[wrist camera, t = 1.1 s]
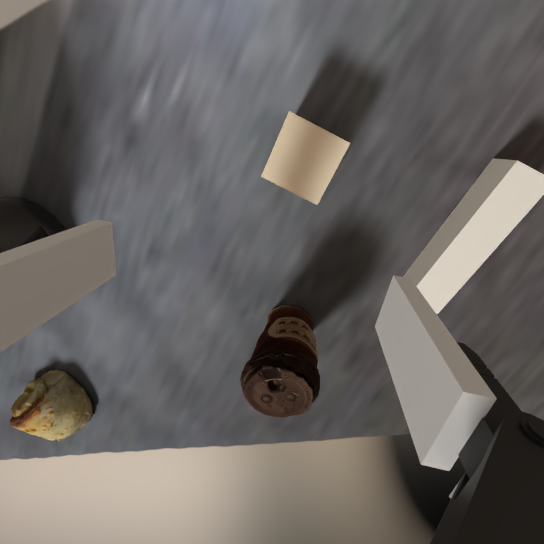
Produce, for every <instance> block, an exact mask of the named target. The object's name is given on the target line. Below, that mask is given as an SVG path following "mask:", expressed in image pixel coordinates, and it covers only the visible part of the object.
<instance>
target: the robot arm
mask: <svg viewBox="0 0 544 544" xmlns="http://www.w3.org/2000/svg"><path fill="white" fill-rule="evenodd" d="M114 276H116V264H115V253H114V241H113V230H112V222H107V221H101V220H94V221H91V222H88V223H85V224H82V225H80V226H77V227H74V228H71V229H68V230H65V229H64V228H63V226H62V225H61V224H60V223H59V222H58V221H57V220H56V219H55V218H54V217H53V216H52V215H51V214H50V213H48V212H47V211H46V210H44V209H43V208H41V207H40V206H38V205H36V204H34V203H32V202H30V201H27V200H24V199H21V198H16V197H3V198H0V352H1V351H3V350H4V349H6V348H7V347H9V346H10V345H12V344H13V343H15V342H16V341H18V340H19V339H21V338H22V337H24V336H25V335H27V334H28V333H30V332H31V331H33V330H34V329H36V328H37V327H39V326H40V325H42V324H43V323H45V322H46V321H48V320H49V319H51V318H52V317H54V316H55V315H57V314H58V313H60V312H61V311H63V310H65V309H66V308H68V307H69V306H71V305H72V304H74V303H75V302H77V301H78V300H80V299H81V298H83V297H84V296H86V295H87V294H89V293H90V292H92V291H93V290H95V289H96V288H98V287H99V286H101V285H102V284H104V283H105V282H107V281H108V280H110V279H111V278H113V277H114ZM375 328H376V331H377V334H378V337H379V340H380V343H381V346H382V349H383V352H384V355H385V358H386V361H387V364H388V367H389V370H390V373H391V376H392V379H393V382H394V385H395V388H396V391H397V394H398V397H399V400H400V403H401V406H402V409H403V412H404V415H405V418H406V421H407V424H408V427H409V430H410V433H411V436H412V439H413V442H414V445H415V448H416V451H417V454H418V457H419V460H420V463H421V465H425V466H430V467H434V468H438V469H443V470H447V471H450V469H451V467H452V466H453V465H454V463H455V461H456V460H457V458H458V457H459V458H460V460H461V462H462V464H463V466H464V468H465V471H466V472H465V474H464V475H463V477H462V478H461V480H460V481H459V482H458V484H457V485H456V487H455V488H454V489H453V491H452V492H451V494H450V495H449V497H450V498H451V501H450V503H449V505H448V507H447V509H446V511H445V513H444V515H443V517H442V519H441V522H440V524H439V526H438V528H437V530H436V532H435V534H434V536H433V538H432V541H431V543H430V544H544V421H543V420H541V419H539V418H537V417H535V416H533V415H531V414H528V413H525V412H522V411H521V410H520V409H519V407H518V406H517V405H516V404H515V402H514V401H513V400H512V398H511V397H510V396H509V395H508V393H507V392H506V391H505V389H504V388H503V387H502V385H501V384H500V383H499V382H498V380H497V379H495V378H494V375H493V374H492V373H491V371H490V370H489V369H487V366H486V365H485V364H484V362H483V361H482V360H481V358H480V357H479V356H478V355H477V354H476V353H475V352H474V351H472V350H471V349H470V348H469V347H467V346H466V345H465V344H463V343H458V342H456V341H455V340H454V338H453V337H452V335H451V334H450V333H449V331H448V330H447V328H446V327H445V326H444V324H443V323H442V321H441V320H440V319H439V317H438V316H437V314H436V313H435V312H434V310H433V309H432V307H431V306H430V305H429V303H428V302H427V300H426V299H425V298H424V296H423V295H422V294H421V292H420V291H419V289H418V288H417V287H416V285H415V284H414V282H413V281H412V280H411V279H410V278H405V277H400V276H394V275H393V278H392V280H391V283H390V286H389V289H388V292H387V294H386V297H385V300H384V303H383V305H382V308H381V311H380V314H379V317H378V319H377V322H376V325H375Z"/></svg>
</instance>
